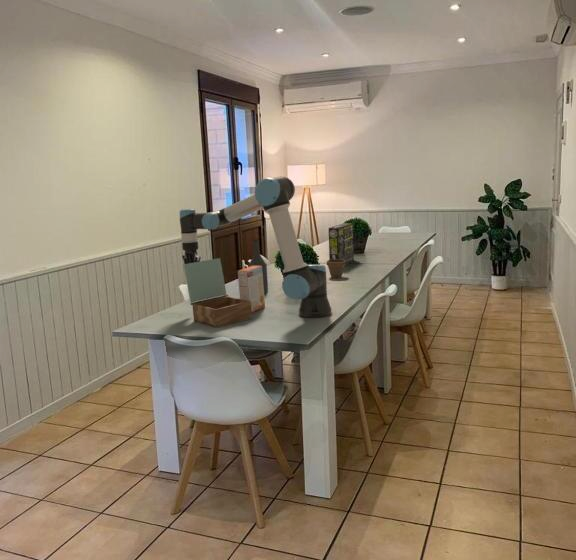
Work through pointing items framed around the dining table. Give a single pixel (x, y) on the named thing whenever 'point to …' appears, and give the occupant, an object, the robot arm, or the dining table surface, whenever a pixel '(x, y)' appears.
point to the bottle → (259, 264)
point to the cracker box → (252, 286)
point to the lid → (204, 279)
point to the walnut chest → (221, 311)
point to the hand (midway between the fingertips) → (194, 289)
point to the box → (341, 242)
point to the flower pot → (336, 267)
